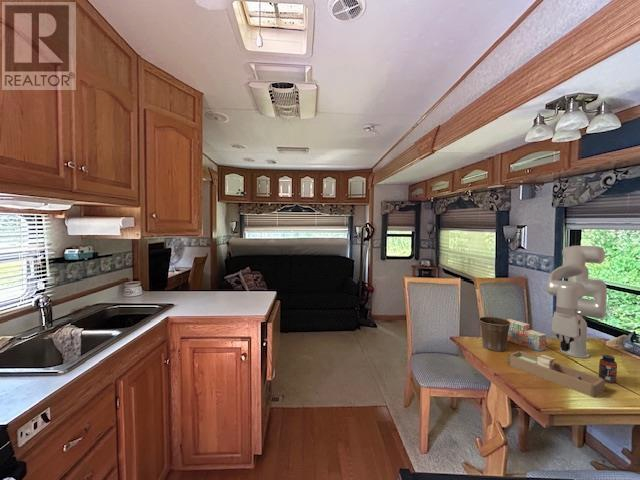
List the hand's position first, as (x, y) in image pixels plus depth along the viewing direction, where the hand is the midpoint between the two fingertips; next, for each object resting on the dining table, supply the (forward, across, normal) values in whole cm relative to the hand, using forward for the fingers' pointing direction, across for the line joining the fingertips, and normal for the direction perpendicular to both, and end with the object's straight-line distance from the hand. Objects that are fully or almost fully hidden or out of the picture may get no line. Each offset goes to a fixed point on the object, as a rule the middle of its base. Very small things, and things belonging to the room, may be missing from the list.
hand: (564, 350), depth 138 cm
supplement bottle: (+14, -10, -19) cm, 26 cm away
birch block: (+12, +8, -1) cm, 14 cm away
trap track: (+15, +5, -1) cm, 15 cm away
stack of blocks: (+14, +32, -31) cm, 46 cm away
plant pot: (+14, +38, -11) cm, 42 cm away
